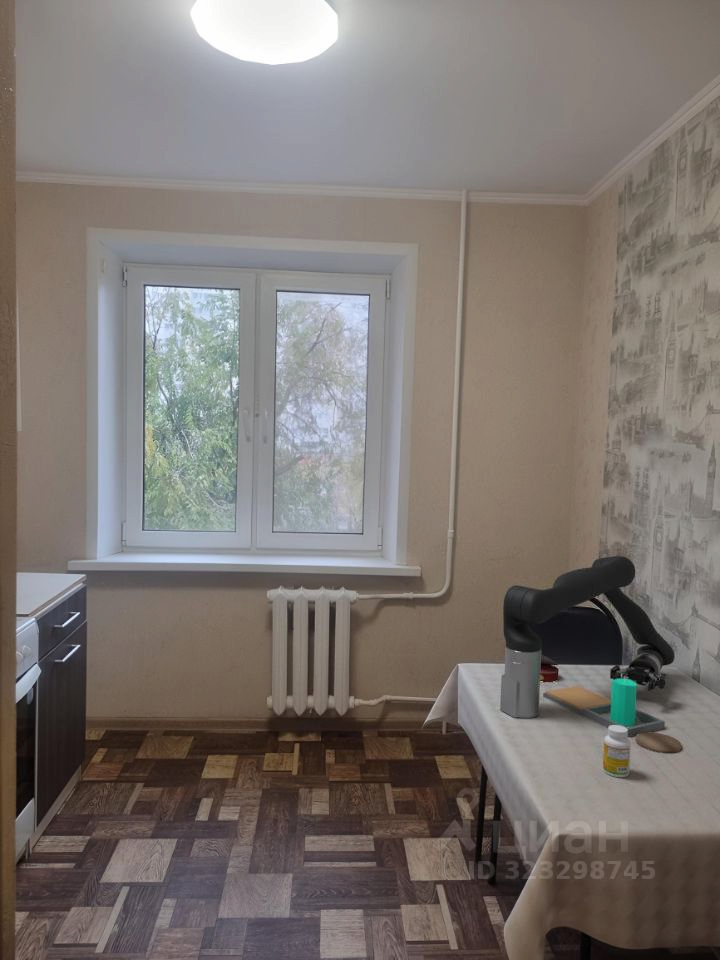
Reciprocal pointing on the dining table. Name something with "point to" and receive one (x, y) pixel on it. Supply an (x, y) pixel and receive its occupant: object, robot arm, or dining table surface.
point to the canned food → (548, 670)
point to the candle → (623, 701)
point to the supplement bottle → (617, 752)
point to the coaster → (658, 742)
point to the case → (598, 708)
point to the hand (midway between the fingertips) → (632, 683)
